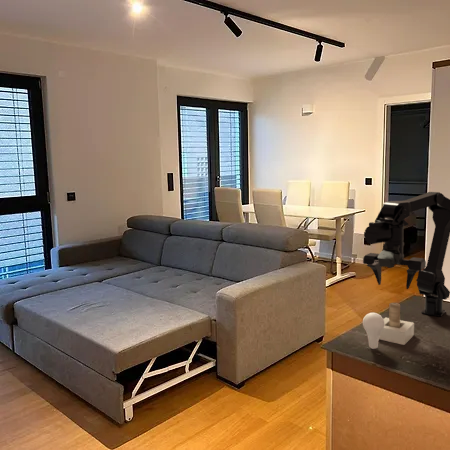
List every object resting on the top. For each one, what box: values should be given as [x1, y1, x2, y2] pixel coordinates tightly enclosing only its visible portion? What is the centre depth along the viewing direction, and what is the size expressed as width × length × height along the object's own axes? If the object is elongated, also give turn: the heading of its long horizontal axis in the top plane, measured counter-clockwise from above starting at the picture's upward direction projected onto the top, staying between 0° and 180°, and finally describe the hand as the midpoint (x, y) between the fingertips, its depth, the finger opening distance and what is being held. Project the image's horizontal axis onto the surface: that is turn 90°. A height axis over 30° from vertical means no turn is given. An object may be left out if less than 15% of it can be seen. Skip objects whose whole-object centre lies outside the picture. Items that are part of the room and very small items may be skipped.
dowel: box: [388, 302, 401, 328], centre depth 141 cm, size 3×3×10 cm
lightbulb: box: [362, 312, 385, 350], centre depth 133 cm, size 6×6×11 cm
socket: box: [379, 317, 415, 346], centre depth 141 cm, size 9×9×4 cm
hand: (393, 286), depth 150 cm, fingers open, 9 cm apart
